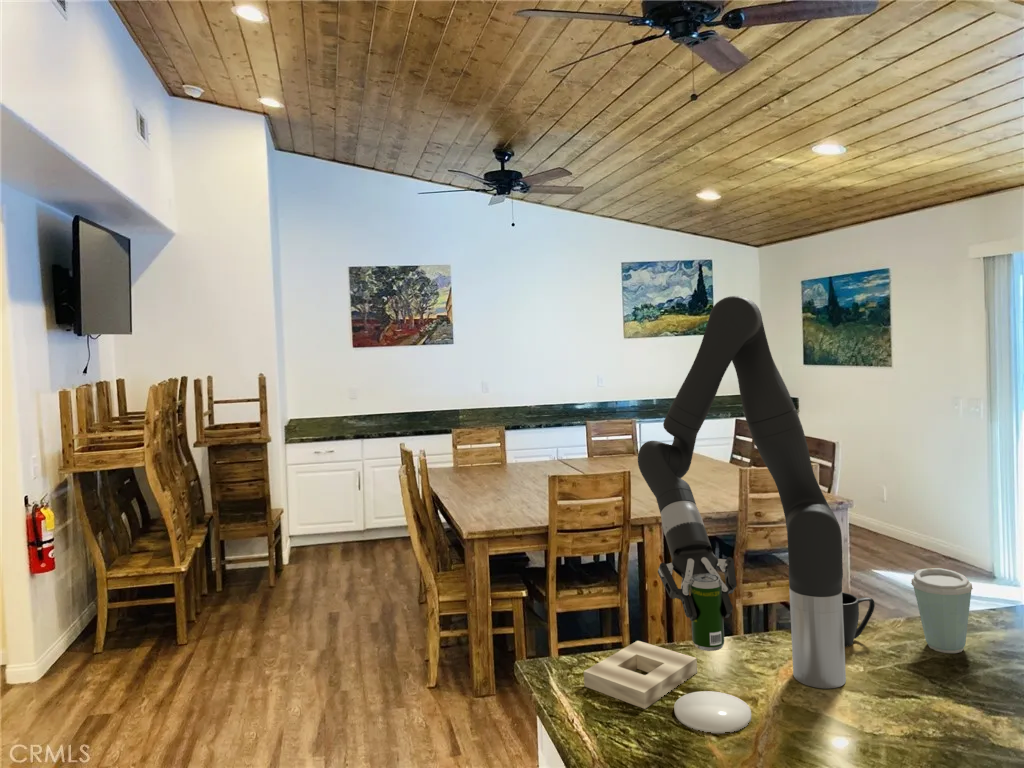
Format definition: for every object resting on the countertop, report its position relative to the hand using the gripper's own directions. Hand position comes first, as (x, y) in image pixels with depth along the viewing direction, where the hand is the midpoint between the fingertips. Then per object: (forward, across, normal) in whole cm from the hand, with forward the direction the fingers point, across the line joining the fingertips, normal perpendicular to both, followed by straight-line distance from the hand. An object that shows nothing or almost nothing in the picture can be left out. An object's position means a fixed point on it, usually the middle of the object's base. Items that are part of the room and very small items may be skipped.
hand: (710, 616), depth 121 cm
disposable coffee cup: (+1, +55, +25) cm, 60 cm away
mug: (-4, +38, +30) cm, 49 cm away
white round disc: (+12, 0, +14) cm, 18 cm away
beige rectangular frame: (+1, -9, +24) cm, 26 cm away
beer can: (+3, 0, +5) cm, 6 cm away
